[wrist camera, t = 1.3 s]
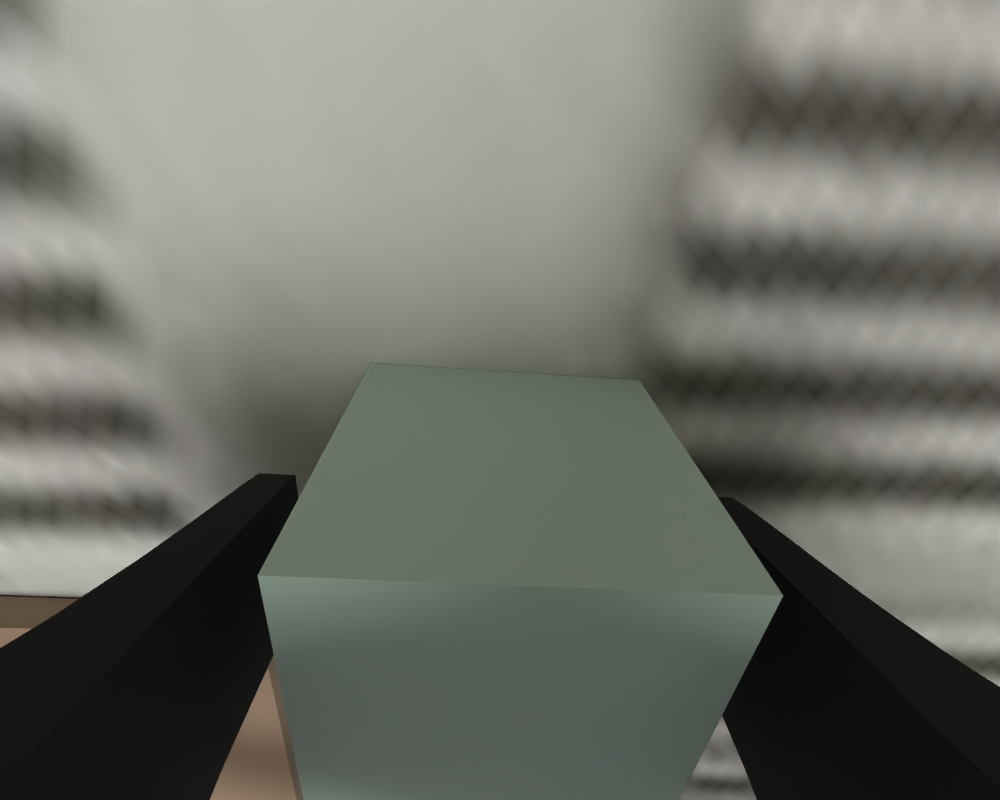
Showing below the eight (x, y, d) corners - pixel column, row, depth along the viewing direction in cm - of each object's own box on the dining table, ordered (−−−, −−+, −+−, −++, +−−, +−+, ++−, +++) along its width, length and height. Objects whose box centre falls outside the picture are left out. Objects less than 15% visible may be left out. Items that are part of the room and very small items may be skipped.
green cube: (592, 568, 11) (660, 834, 7) (379, 560, 11) (309, 833, 7) (638, 378, 9) (784, 596, 5) (371, 360, 9) (257, 575, 4)
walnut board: (310, 795, 16) (302, 826, 15) (16, 793, 15) (-6, 824, 14) (275, 605, 12) (261, 636, 11) (-131, 592, 11) (-174, 622, 10)
